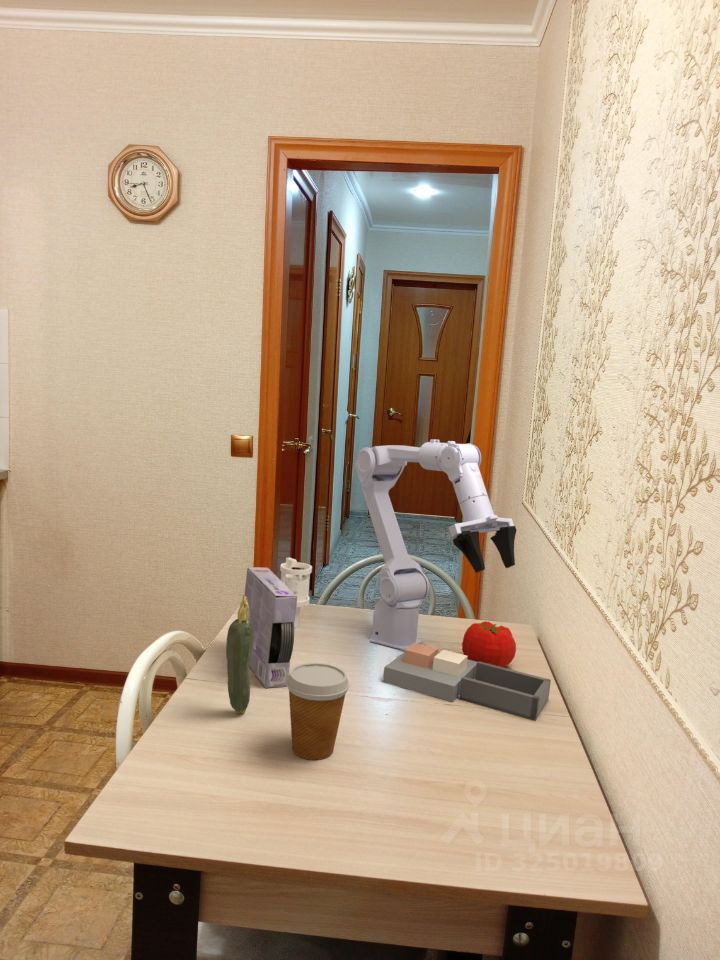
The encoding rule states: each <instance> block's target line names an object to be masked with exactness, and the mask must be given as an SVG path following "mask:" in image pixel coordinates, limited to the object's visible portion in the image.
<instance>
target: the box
mask: <svg viewBox="0 0 720 960" xmlns="http://www.w3.org/2000/svg"><path fill="white" fill-rule="evenodd" d="M551 683H552V679H549V678H545V677H542V676H538V675H534V674H529V673H525V672H522V671H518V670H514V669H510V668H506V667H499V666H495V665H491V664H487V663H483V662H480V661H478V662H477V665H476V675H475V679H471V678H467V677H464V676H463V677H462V678H461V686H460V695H459V696H458V697H459V698H458V699H459V700H462V701H465V702H469V703H472V704H475V705H479V706H483V707H486V708H489V709H493V710H496V711H499V712H504V713H507V714H509V715H514V716H516V717H517V716H518V717H520V718H524V719H528V720H532V721H534V722H536V720H537V719H538V717H539V716H540V714H541V712H542V711H543V710H544V708H545V707H546V705H547V703H548V702H549V697H550V690H551Z"/></svg>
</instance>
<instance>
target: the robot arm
mask: <svg viewBox="0 0 720 960" xmlns="http://www.w3.org/2000/svg"><path fill="white" fill-rule="evenodd" d="M356 457H357V458H356V460H355V465H354V466H355V470H356V474H357V477H358V479H359V480H358V481H359V483H360V486H361V488H362V493H363V496H364V500H365V503H366V507H367V509H368V513H369V516H370V520H371V522H372V526H373V529H374V532H375V536H376V538H377V542H378V546H379V548H380V552H381V555H382V558H383V562H384V565H383V566H382V568H381V569H380V570H379V572H378V574H377V578H378V581H379V594H380V596H381V598H380V599H379V600H378V601H377V602H376V604H375V606H374V609H373V615H372V625H371V626H372V627H371V628H372V629H371V637H370V638H369V642H371V643H374V644H379V645H383V646H387V647H390V648H394V649H397V650H402V651H403V652H405V649H406V648H408V647H409V646H410V645H412V644H413V643H415V642H416V643H419V644H422V643H423V641H424V640H423V638H419V637H417V635H418V626H419V624H418V623H419V617H420V615H419V614H420V605H423V600H425V599H427V596H428V595H429V592H430V583H429V579H428V577H427V575H426V574H425V573H424V572H423V570H422V568H421V564H420V563H419V562H417V561H415V560H414V559H413V558H412V557H410V556H409V554H408V553H409V552H408V550H407V547H406V545H405V541H404V538H403V535H402V531H401V529H400V525H399V522H398V520H397V517H396V513H395V511H394V508H393V504H392V501H391V498H390V495H389V494H390V493H389V492H390V490H391V489H392V488H394V487H395V485H396V484H397V481H398V479H399V478H400V476H401V474H402V473H403V471H404V469H405V467H406V466H407V465H408V463H419V465H420V466H421V467H422V468H423V469H425V470H428V471H438V472H444V473H445V474H446V476H447V477H448V480H449V481H450V482H451V483H452V486H453V489H454V493H455V494H456V498H457V501H458V504H459V508H460V511H461V514H462V518H463V521H464V522H458V523H454V524H452V525H451V526H449V527H448V530H449V533H450V536H451V538H453V539H452V542H453V543H452V544H453V545H454V546H455V547H456V548H457V549H459V551H460V552H461V553H462V554H463V556H465V558H466V559H467V561H468V562H469V564H470V565H471V567H472V569H473V570H474V572H475V573H480V572H483V571H484V570H486V566H485V561H484V557H483V555H482V549H481V544H480V534H481V533H482V534H483V533H491V532H495V533H494V535H492V536H490V540H491V541H492V543H493V545H494V546H495V547H496V549H497V551H498V553H499V556H500V558H501V561H502V563H503V566H504V567H505V569H509V568H511V567H513V566H515V565H516V560H515V539H516V535H517V534H516V533H517V527H516V525H515V524H514V521H513V519H512V517H511V518H507V517H498V515H497V514H494V510H493V507H492V504H491V501H490V498H489V495H488V492H487V489H486V486H485V483H484V480H483V477H482V473H481V471H480V470H481V469H480V466H481V463H482V454H481V451H480V449H479V447H478V446H476V445H475V444H472V443H470V442H469V443H456V441H453V440H448V441H447V442H440V439H433V438H432V439H430V440H429V441H426V442H424V443H423V444H422V445H421V446H420V447H417V446H412V445H411V446H410V445H403V444H401V445H397V444H396V445H395V444H391V445H388V444H387V445H378V446H377V445H375V446H371V447H366V446H365V447H363V448H361V449H360V451H359V452H358V454H357V456H356Z"/></svg>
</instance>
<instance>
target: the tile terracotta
mask: <svg viewBox="0 0 720 960" xmlns="http://www.w3.org/2000/svg"><path fill="white" fill-rule="evenodd" d="M438 652H439V648H438V647H435V646H431V645H426V644H422V643H420V644H419V643H416V642H415V643H413V644H412V645H410V646H409V647H408V648H406V649H405V651H403V653H404V662H405V663H409V664H412V665H416V666H420V667H424V668H427V669H428V668H429V667H430V666H431V665H432V664H433V660H434V657H435V656H436V655H437V654H438Z"/></svg>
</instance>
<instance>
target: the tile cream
mask: <svg viewBox="0 0 720 960" xmlns="http://www.w3.org/2000/svg"><path fill="white" fill-rule="evenodd" d="M439 652H440V653H438V654H437V655H436V656H435V657H434V660H433V670H435V671H438V672H442V673H446V674H449V675H453V676H457V677H458V676H459V675H460V674H461V673H462V672H463V671H464V670H465V669H466V667H467V657H468V656H466V655H464V654H463V653H458V652H454V651H450V650H448V649H447V650H446V649H442V650H440V651H439Z"/></svg>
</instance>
